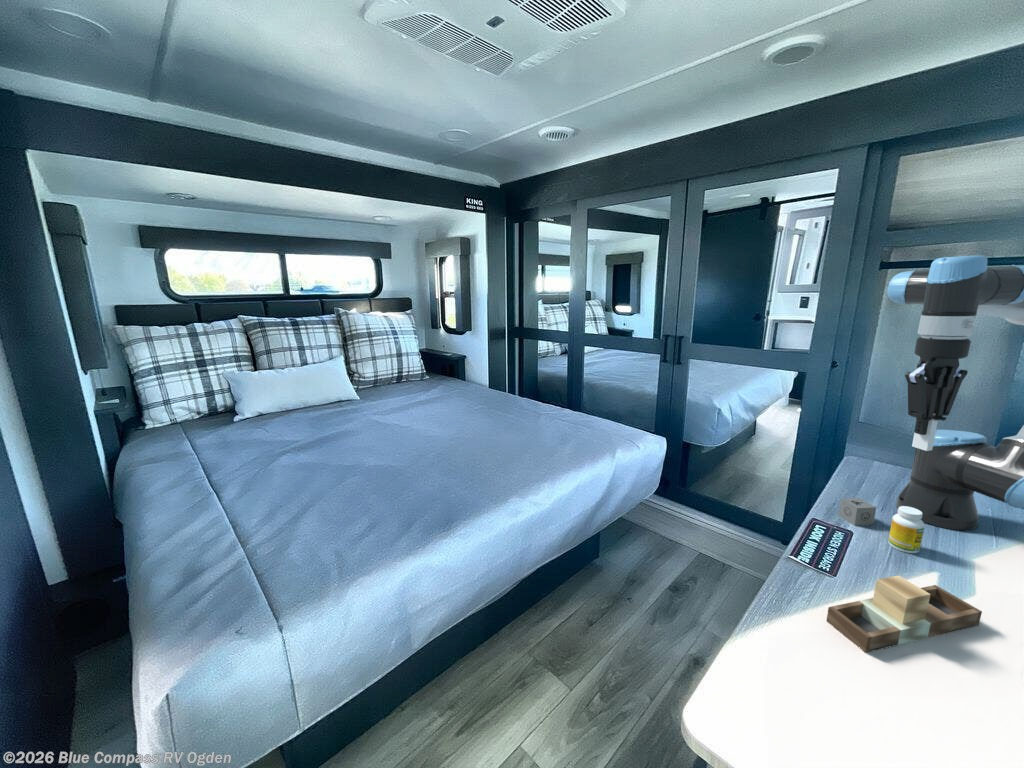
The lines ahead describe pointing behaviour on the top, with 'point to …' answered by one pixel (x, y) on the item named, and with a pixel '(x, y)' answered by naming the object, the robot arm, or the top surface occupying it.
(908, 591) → the oak block
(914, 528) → the supplement bottle
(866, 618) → the board
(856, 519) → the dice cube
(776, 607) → the top surface
